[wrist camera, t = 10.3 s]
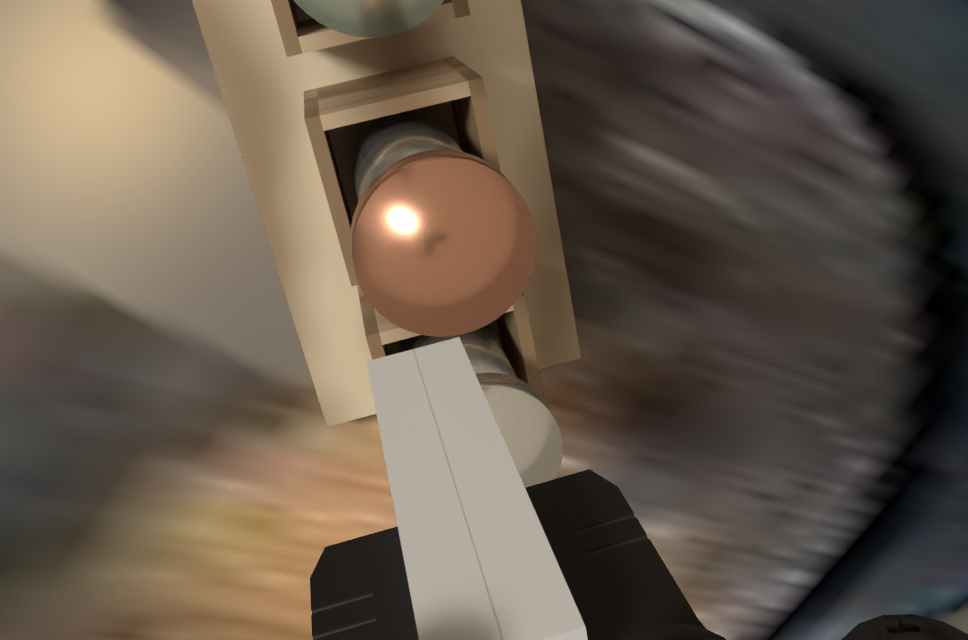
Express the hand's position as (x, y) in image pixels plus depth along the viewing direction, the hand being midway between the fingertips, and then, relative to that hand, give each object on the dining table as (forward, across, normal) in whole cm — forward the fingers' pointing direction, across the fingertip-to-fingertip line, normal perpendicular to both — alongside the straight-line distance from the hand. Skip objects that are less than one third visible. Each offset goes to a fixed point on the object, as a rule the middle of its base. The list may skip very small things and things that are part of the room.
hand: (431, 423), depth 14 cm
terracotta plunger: (+20, +2, -1) cm, 20 cm away
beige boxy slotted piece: (+25, +2, -1) cm, 25 cm away
